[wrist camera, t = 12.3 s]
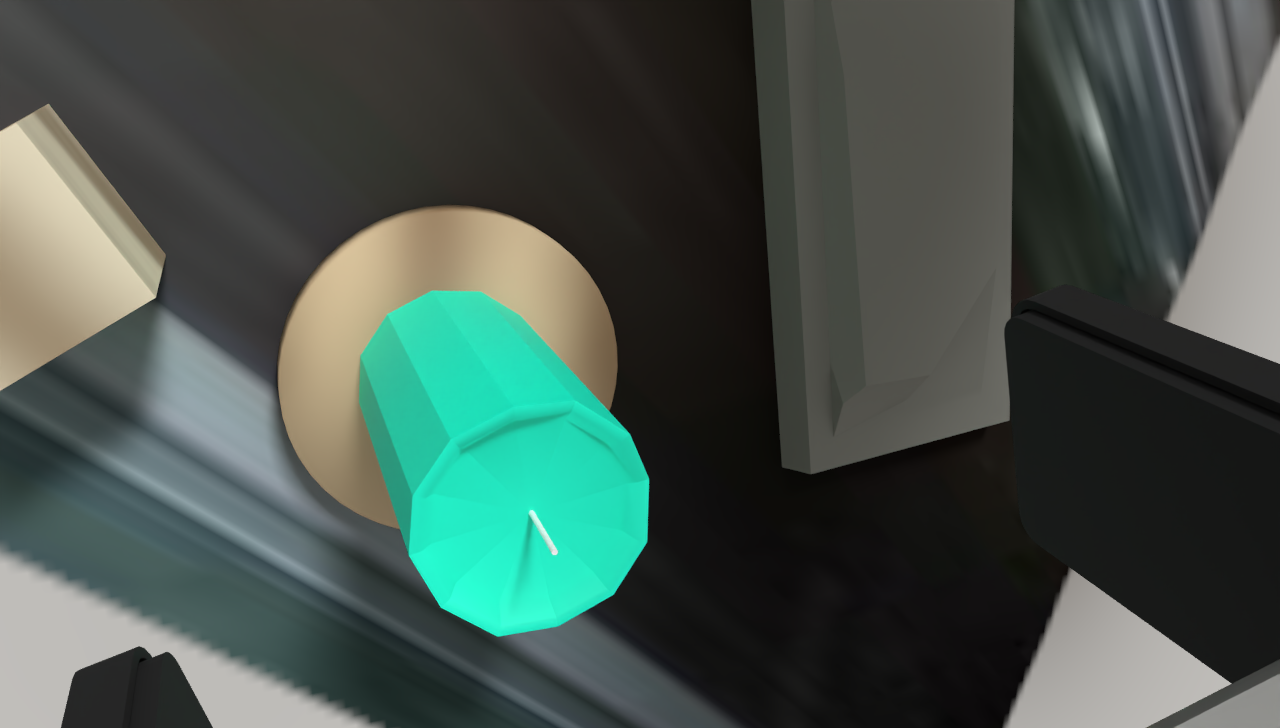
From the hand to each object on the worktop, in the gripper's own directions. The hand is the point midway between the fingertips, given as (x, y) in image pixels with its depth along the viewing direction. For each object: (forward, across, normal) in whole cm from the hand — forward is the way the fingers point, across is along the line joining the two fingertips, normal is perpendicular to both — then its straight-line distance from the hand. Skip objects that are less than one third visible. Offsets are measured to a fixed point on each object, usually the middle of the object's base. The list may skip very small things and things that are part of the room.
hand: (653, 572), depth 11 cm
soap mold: (+25, -17, +6) cm, 31 cm away
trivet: (+24, 0, +7) cm, 25 cm away
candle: (+23, 0, +7) cm, 24 cm away
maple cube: (+24, +10, -2) cm, 26 cm away
